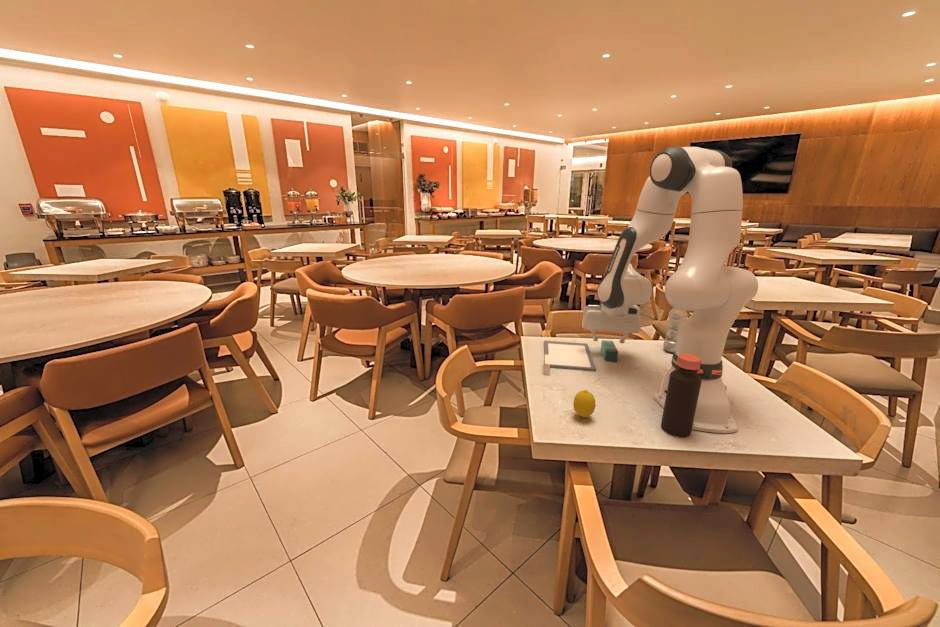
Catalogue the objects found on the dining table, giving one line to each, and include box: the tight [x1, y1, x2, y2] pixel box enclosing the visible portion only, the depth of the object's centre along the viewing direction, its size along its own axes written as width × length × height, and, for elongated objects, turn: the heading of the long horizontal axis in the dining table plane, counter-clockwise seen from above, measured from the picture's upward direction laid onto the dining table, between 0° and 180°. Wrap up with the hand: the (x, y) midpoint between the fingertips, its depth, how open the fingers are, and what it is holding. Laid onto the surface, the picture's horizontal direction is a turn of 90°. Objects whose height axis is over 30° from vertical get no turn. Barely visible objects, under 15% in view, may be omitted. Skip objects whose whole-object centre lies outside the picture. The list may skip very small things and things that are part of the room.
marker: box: [600, 339, 619, 363], centre depth 141 cm, size 13×4×4 cm, turn 169°
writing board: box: [543, 340, 597, 372], centre depth 140 cm, size 24×17×1 cm
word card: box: [543, 354, 551, 376], centre depth 128 cm, size 8×2×4 cm, turn 170°
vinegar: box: [660, 354, 702, 438], centre depth 92 cm, size 7×7×20 cm
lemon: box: [573, 389, 596, 418], centre depth 99 cm, size 6×6×8 cm
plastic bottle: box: [663, 307, 689, 354], centre depth 142 cm, size 6×7×20 cm
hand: (608, 341), depth 140 cm, fingers open, 8 cm apart
